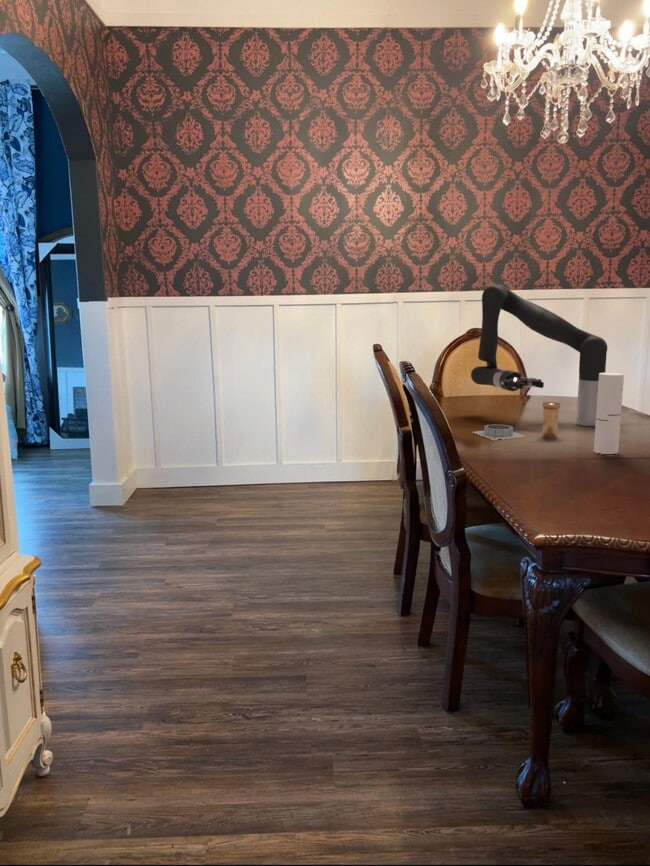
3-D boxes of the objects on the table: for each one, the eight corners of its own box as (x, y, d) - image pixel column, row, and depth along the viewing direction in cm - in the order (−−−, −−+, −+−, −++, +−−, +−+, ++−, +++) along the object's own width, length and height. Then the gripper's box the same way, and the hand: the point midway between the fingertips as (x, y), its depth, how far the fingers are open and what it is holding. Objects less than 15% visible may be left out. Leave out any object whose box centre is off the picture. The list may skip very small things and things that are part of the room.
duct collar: (503, 430, 255) (504, 422, 255) (524, 437, 243) (525, 429, 243) (472, 433, 251) (473, 425, 251) (492, 440, 239) (492, 431, 239)
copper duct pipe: (551, 434, 247) (553, 401, 245) (561, 438, 242) (563, 404, 239) (537, 436, 245) (539, 402, 243) (547, 439, 240) (549, 405, 238)
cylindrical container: (620, 455, 216) (626, 375, 211) (595, 454, 217) (601, 375, 212) (615, 450, 223) (621, 372, 218) (591, 449, 224) (597, 372, 219)
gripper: (491, 371, 262) (516, 376, 247) (523, 369, 267) (550, 374, 252) (490, 390, 264) (515, 396, 249) (522, 388, 269) (548, 394, 253)
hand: (532, 385), depth 250 cm, fingers open, 8 cm apart
